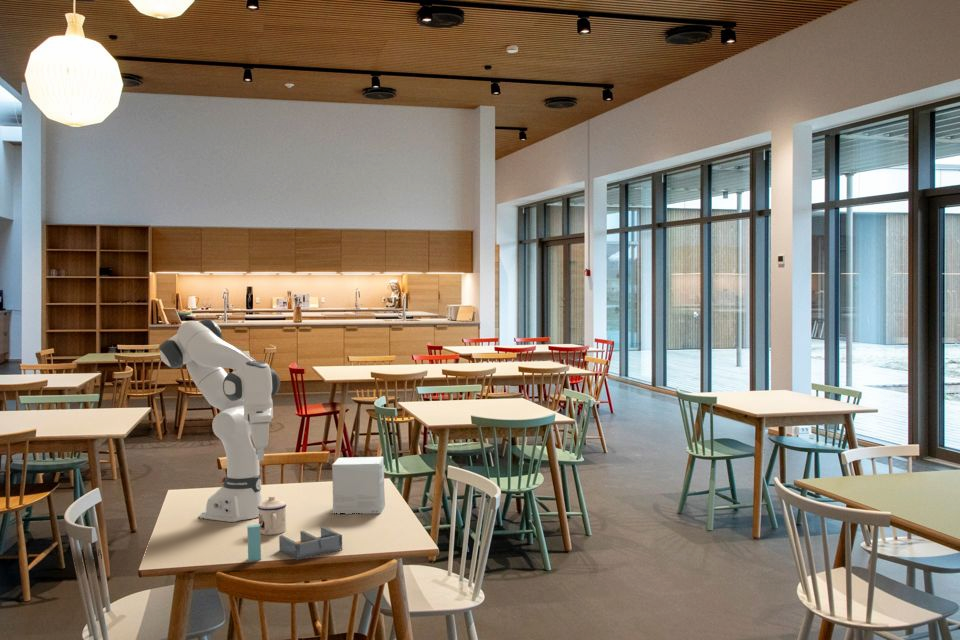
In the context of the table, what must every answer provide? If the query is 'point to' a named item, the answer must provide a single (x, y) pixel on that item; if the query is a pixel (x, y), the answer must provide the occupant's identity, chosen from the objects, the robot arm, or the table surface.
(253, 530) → the teal rectangular block
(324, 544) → the rack
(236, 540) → the table surface
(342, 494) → the supplement box
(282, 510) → the teacup with lid
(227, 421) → the robot arm
